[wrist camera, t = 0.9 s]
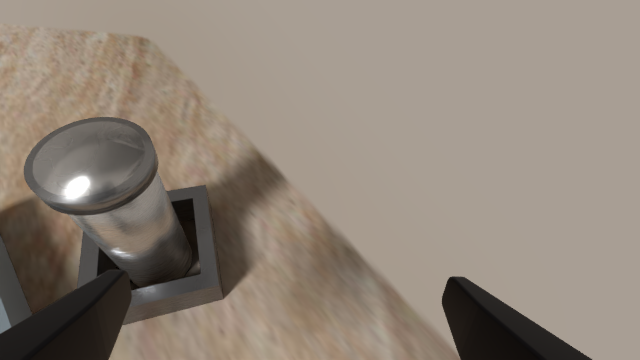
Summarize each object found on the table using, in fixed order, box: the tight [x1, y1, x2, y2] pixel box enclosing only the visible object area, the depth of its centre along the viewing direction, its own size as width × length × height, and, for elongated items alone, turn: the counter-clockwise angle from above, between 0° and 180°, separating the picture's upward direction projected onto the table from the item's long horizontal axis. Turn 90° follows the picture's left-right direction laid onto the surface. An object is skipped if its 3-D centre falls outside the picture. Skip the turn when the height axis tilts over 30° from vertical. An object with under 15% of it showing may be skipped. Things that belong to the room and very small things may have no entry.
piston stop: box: [24, 117, 192, 288], centre depth 19 cm, size 5×5×12 cm
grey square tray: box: [77, 185, 224, 325], centre depth 23 cm, size 8×8×3 cm
